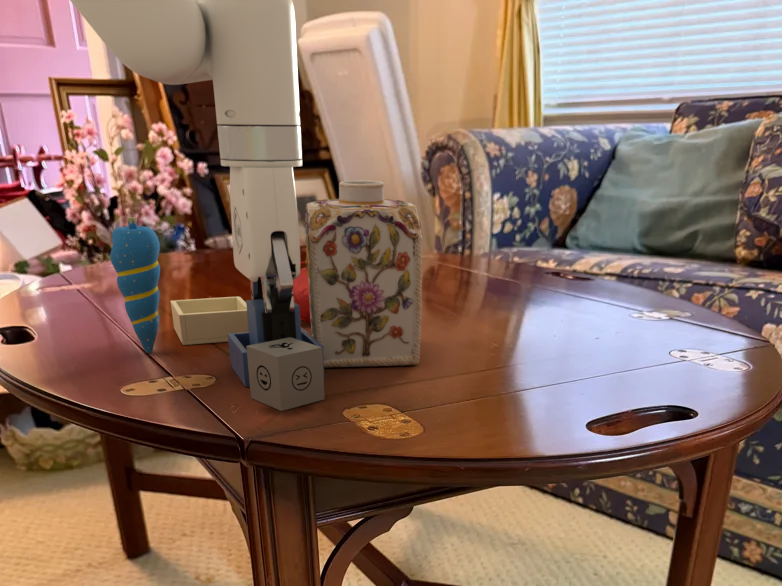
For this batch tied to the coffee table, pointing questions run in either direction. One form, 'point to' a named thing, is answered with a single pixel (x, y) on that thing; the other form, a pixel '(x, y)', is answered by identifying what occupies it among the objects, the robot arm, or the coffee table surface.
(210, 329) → the cream bin
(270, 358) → the dice cube
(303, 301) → the pomegranate
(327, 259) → the decorative jar
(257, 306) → the blue block
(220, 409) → the coffee table surface
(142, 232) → the ornament
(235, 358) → the blue bin
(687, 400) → the coffee table surface
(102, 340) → the coffee table surface
